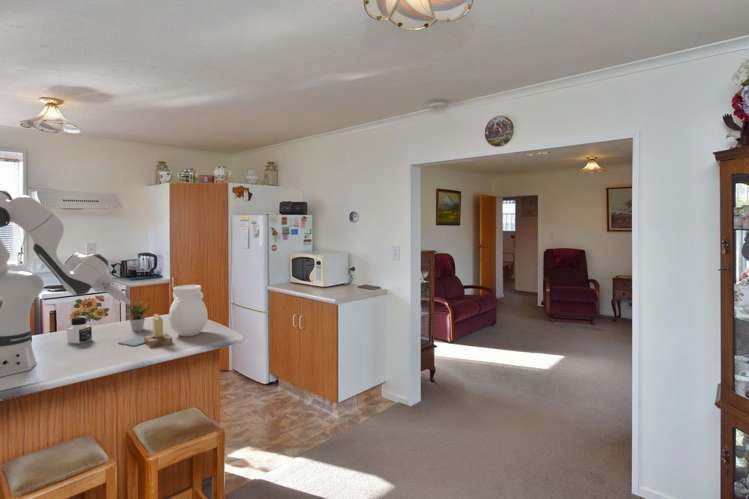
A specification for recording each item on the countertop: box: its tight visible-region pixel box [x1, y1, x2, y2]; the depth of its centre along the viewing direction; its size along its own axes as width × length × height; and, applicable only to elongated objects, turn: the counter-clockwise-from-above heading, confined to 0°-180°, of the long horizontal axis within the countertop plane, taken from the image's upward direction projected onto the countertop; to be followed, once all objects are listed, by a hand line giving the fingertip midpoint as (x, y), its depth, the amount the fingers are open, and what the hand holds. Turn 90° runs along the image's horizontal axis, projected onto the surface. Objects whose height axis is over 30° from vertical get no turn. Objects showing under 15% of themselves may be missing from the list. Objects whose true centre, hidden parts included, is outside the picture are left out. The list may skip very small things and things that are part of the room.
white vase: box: [168, 284, 209, 337], centre depth 222 cm, size 19×18×25 cm
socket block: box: [143, 332, 173, 348], centre depth 206 cm, size 10×10×3 cm
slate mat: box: [117, 336, 146, 347], centre depth 208 cm, size 11×11×1 cm
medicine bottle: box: [66, 315, 93, 345], centre depth 208 cm, size 7×7×12 cm
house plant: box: [124, 299, 151, 332], centre depth 228 cm, size 14×14×16 cm
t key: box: [152, 313, 164, 339], centre depth 206 cm, size 4×8×14 cm, turn 40°
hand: (128, 301), depth 196 cm, fingers open, 8 cm apart
